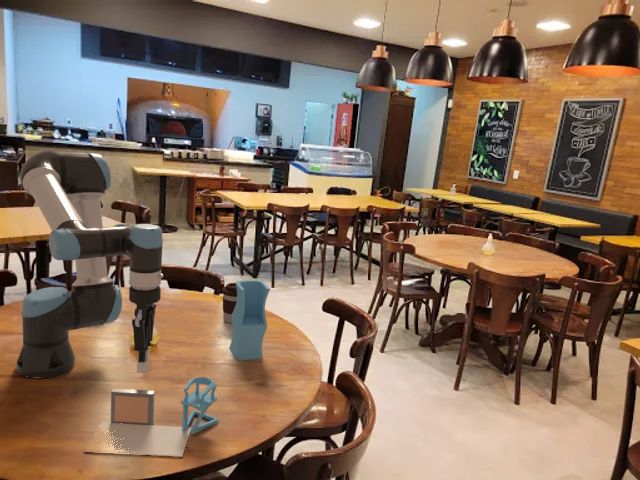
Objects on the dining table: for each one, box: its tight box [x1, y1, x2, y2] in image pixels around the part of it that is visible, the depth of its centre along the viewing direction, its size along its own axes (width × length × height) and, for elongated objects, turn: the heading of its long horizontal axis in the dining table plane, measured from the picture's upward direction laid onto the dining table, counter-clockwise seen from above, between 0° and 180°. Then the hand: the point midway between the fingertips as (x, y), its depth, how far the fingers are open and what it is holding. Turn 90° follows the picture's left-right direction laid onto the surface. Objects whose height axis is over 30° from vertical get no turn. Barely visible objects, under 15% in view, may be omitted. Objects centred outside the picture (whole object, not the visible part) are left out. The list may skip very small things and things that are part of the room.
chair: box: [180, 376, 219, 435], centre depth 120 cm, size 8×8×12 cm
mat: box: [91, 422, 193, 458], centre depth 113 cm, size 22×11×1 cm, turn 94°
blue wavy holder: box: [228, 279, 271, 361], centre depth 161 cm, size 10×10×25 cm
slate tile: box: [110, 387, 156, 425], centre depth 118 cm, size 10×2×9 cm, turn 94°
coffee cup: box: [221, 282, 237, 325], centre depth 189 cm, size 10×10×15 cm
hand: (143, 371), depth 124 cm, fingers closed
